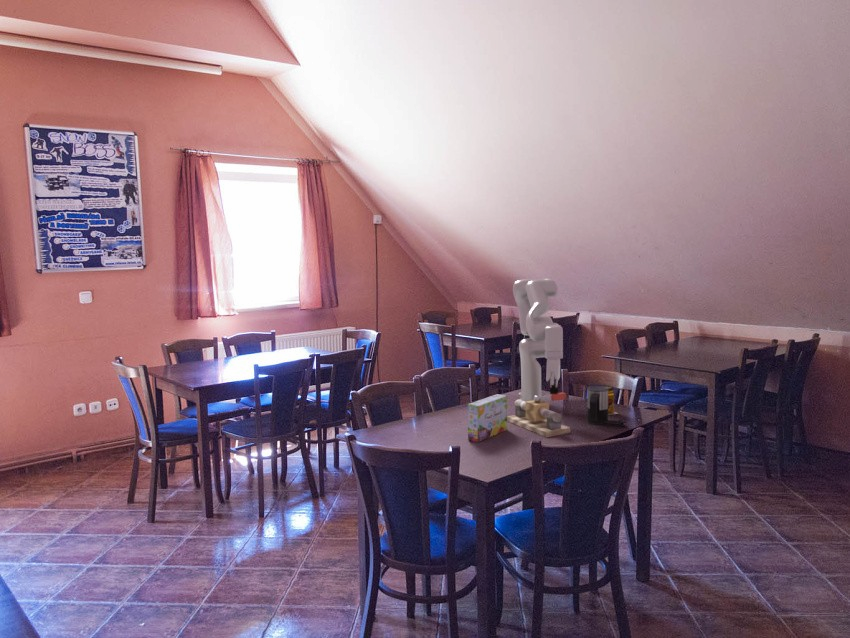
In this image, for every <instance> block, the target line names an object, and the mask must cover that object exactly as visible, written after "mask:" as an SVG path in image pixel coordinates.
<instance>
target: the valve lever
mask: <svg viewBox="0 0 850 638" xmlns="http://www.w3.org/2000/svg"><path fill="white" fill-rule="evenodd" d="M566 396H567V393H565V392H558V393H552V394H550V393H549V394H545V395H541V396H539V395H535V396H534V402H540V401H545V402H547V401H551V402H553V401H560V400H561V401H562V400H566V399H567V398H566Z"/></svg>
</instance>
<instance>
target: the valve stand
mask: <svg viewBox="0 0 850 638" xmlns="http://www.w3.org/2000/svg"><path fill="white" fill-rule="evenodd" d="M519 399H520V398H519ZM519 399H516V400H515V401H514V407H515V408H514V409H515V411H514V412H515V414H514V415H507V422H508V421H509V422H508V423H511V424H514V425H516V426H518V427H521V428H523V429H526V430H528V431H531V432H534V433H535V434H538V435H540V436H542V437H545V438H550V437H554V436H555V437H556V436H560V435H566V434H570V433H571V427H569V426H567V425H564V424H562V419H563V416H562V414H561V413H559V412H556V411H553V410H550V402H547V401H540V402H534V400H533V401H527V402H525V401H522V400H519Z"/></svg>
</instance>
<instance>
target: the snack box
mask: <svg viewBox="0 0 850 638" xmlns="http://www.w3.org/2000/svg"><path fill="white" fill-rule="evenodd" d="M467 404H468V405H467V441H470V440H471V441H470V442H475V443H479V442H482V441H484V440H486V439H489V438H491V436H492V437H494V436H496V435H498V433H499V434H500V433H503V432H505V430H506V431H507V430H508V421H507V416H508V395H505V394H498V393H497V394H494V395H490V396H488V397H485V398H482V399H479V400H477V401H474V402H471V403H467ZM493 435H494V436H493Z"/></svg>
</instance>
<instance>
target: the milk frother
mask: <svg viewBox="0 0 850 638" xmlns="http://www.w3.org/2000/svg"><path fill="white" fill-rule="evenodd" d="M586 390H587V409H586V410H587V413H586V414H587V416H586V417H587V418H586V422H587V423H589V424H591V425H606V424H618V425H619V426H620V425H622V426H624V424H627V421H626V420H625V421H624V419H623V418H622V419H621V418H619V419H618V420H616V419H610V420H609V415H608V390H609V388H607V387H603V386H599V385H597V386H595V385H594V386H587V388H586Z"/></svg>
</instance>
